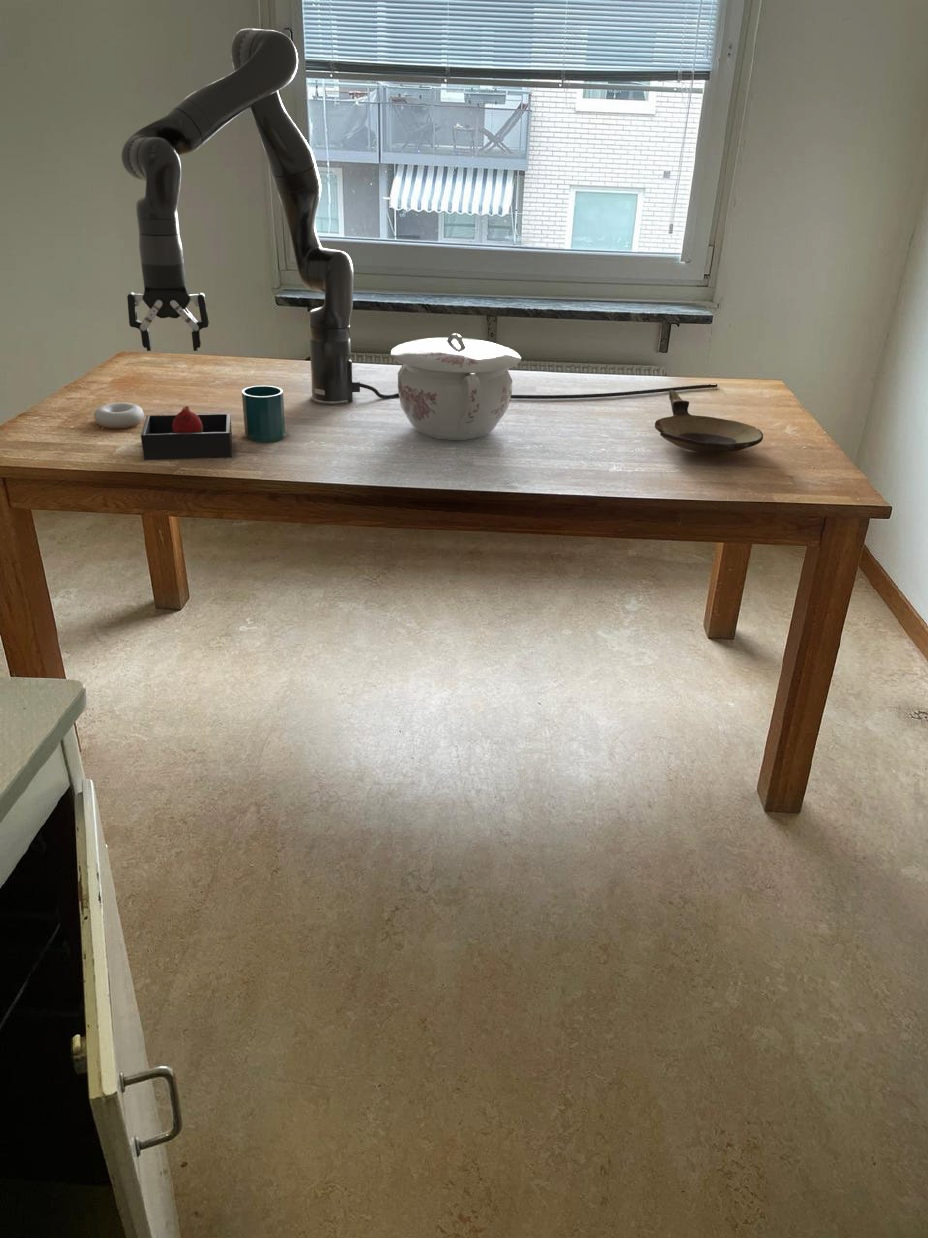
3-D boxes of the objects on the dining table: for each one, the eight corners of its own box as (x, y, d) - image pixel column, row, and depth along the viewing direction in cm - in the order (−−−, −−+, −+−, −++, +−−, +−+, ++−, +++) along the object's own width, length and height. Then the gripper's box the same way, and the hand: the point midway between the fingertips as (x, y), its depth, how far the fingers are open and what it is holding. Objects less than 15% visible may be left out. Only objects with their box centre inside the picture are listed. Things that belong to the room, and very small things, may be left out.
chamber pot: (427, 404, 211) (429, 313, 201) (534, 425, 201) (542, 331, 191) (364, 436, 189) (363, 337, 179) (481, 462, 179) (488, 357, 169)
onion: (200, 451, 176) (195, 411, 172) (170, 449, 176) (165, 410, 172) (207, 441, 181) (203, 402, 177) (179, 440, 181) (174, 401, 177)
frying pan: (657, 465, 182) (663, 428, 178) (646, 420, 208) (651, 387, 204) (768, 473, 181) (777, 437, 177) (743, 427, 206) (750, 394, 202)
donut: (125, 433, 185) (154, 419, 193) (122, 417, 183) (152, 403, 191) (85, 426, 187) (115, 412, 195) (82, 410, 186) (113, 397, 194)
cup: (284, 429, 191) (282, 385, 186) (286, 442, 184) (283, 396, 180) (245, 430, 190) (241, 385, 185) (245, 443, 183) (241, 397, 178)
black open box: (232, 436, 186) (230, 413, 183) (231, 457, 175) (229, 432, 173) (149, 438, 182) (146, 414, 180) (144, 460, 172) (140, 435, 169)
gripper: (118, 262, 158) (131, 355, 167) (201, 263, 161) (210, 354, 169) (123, 255, 165) (135, 345, 173) (203, 257, 168) (211, 345, 176)
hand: (172, 349), depth 171 cm, fingers open, 8 cm apart
